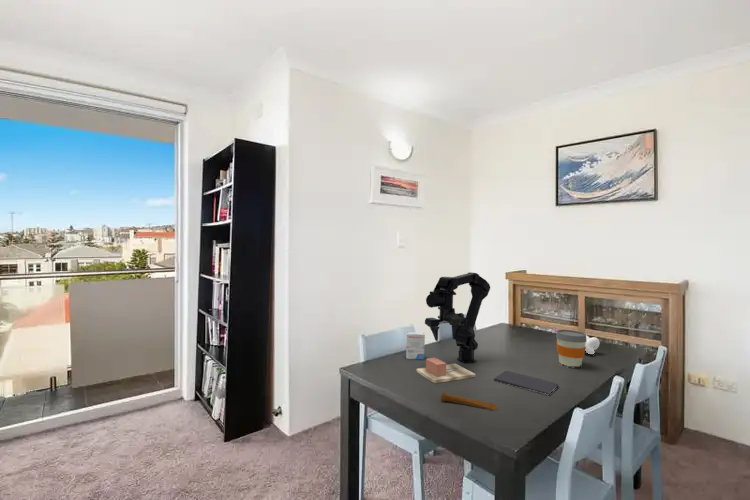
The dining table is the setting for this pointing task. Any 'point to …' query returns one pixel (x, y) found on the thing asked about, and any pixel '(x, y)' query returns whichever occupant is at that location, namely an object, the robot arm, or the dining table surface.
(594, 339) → the white rounded figurine
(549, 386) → the notebook
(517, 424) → the dining table surface
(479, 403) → the primitive tool
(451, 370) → the board
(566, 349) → the reusable coffee cup
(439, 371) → the block
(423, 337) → the ink box
